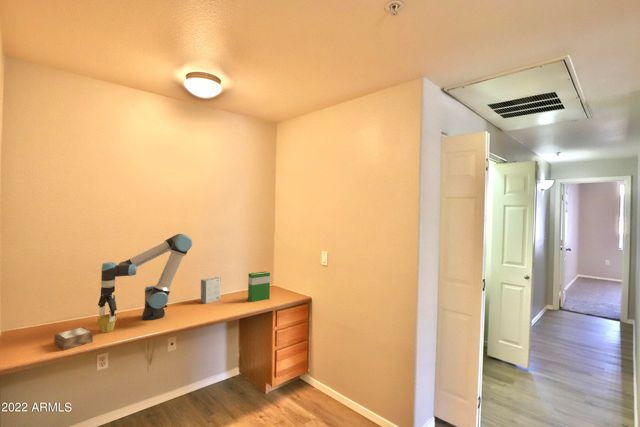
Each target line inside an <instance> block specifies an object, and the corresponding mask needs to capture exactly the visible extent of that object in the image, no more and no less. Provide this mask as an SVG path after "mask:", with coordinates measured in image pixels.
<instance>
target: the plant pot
mask: <svg viewBox="0 0 640 427" xmlns="http://www.w3.org/2000/svg"><path fill="white" fill-rule="evenodd" d="M117 320H118V314H116V313H115V317H114V321H111V322H109V313H106V314H105V315H102V316H98V317H97V323H98V324H99V328H100V332H101V333H103V334H104V333H105V334H107V333H111V332H113V331H114V330H115V325H116V322H117Z"/></svg>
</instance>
